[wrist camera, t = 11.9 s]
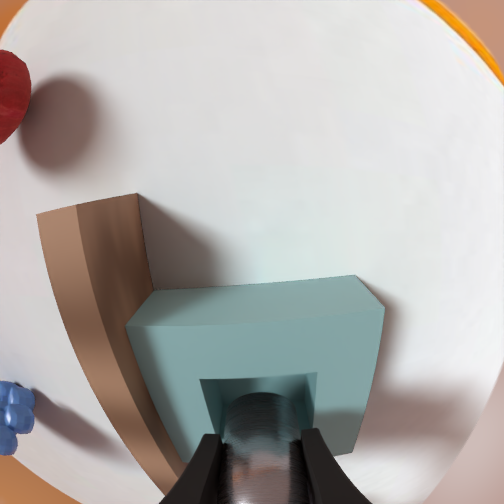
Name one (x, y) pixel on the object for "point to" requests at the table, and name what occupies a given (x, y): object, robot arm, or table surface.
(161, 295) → the block
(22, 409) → the grapes
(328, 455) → the robot arm
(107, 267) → the wall
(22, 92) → the onion
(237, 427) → the dowel
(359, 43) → the table surface
